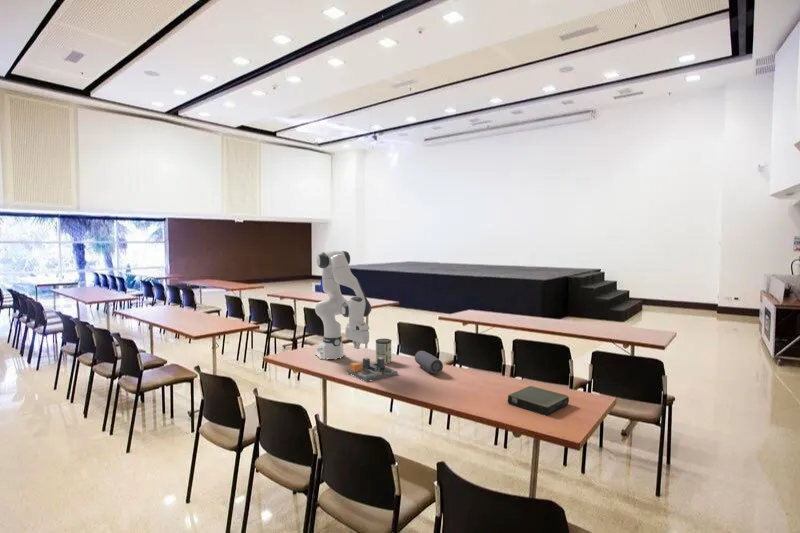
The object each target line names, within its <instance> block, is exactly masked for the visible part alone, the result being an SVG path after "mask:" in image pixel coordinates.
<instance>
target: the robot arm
mask: <svg viewBox="0 0 800 533" xmlns="http://www.w3.org/2000/svg"><path fill="white" fill-rule="evenodd" d="M316 263H317V266H318V267H319V268H320V269H322V270H321V279H322V280H321V281H322V291H323V292H324V293H325V294H327V296H328V298H329V299H324V300H321V301H318V302H316V304H315V306H314V307H315V308H314V312H315V314H316V315H317V317H319V318H320V319H321V321H322V323H323V333H324V334H323V336H322V342H321V343H320V344H318V346H317V350H316V351H317V352H318V353H317V354H318V355H317V356H319V357H320V358H329V359H334V358H340V357H343V355H344V354H345V355H346V353H345V352H344V344H343V343H342V339H343V337H342V326H341V325H342V324H341V323H340V322H339V321H338V320H337V319H336V316H339V315H342V316H343V317H344V318H349V320H348V323H347V324H346V327H345V331H344V332H345V333H344V337H345V338H346V339H348V340H351V341H352V344H353V349H356V350H359V349H360V348H361V347H360V346H361V344H362V345H366V344H368V343H369V342H370V331H369V330H370V326H369V325H368V324H367V323H366V322H365V317H368V316H369V315H370V314H371V313H372V306H371V303H370V302H369V300H368V298H367V296H366V294H365V291H364V288H363V287H362V285H361V282H360V280H359V279H358V278H357V277H356V276H354V274H353V273H352V271H351V268H350V263H351V255H350V253H349V252H348V251H346V250H345V251H344V250H332V251H325V252H324V251H322V252H319V253H318V254H317V256H316ZM341 286H344V287H347V288H350V289H351V290H353V291H354V294H355V296H352V297H351V298H350V299H349V300H347V299H346V298H345V297H344V295H343V294H342V291H341ZM345 355H344V356H345ZM317 356H316V357H317ZM343 358H344V357H343ZM340 359H341V358H340ZM334 360H335V359H334Z"/></svg>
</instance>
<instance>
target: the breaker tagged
mask: <svg viewBox="0 0 800 533" xmlns="http://www.w3.org/2000/svg"><path fill="white" fill-rule="evenodd" d="M370 364H371V359H370V358H369V357H363V358H362V366H363V367H365V368H367V369H368V368H370Z"/></svg>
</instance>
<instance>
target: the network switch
mask: <svg viewBox="0 0 800 533" xmlns="http://www.w3.org/2000/svg"><path fill="white" fill-rule="evenodd" d="M569 402H570V398H569V396H568V395H567V394H564V393H559V392H557V391H552V390H548V389H544V388H540V387H536V386H533V385H529V386H526V387H525V388H522V389H520V390H517V391H515V392H511V393H510V394H508V395H507V404H508V405H511V406H515V407H518V408H522V409H525V410H529V411H532V412H533V413H537V414H539V413H540V414H539V415H542V414H543V415H542V416H544V415H545V417H546V416H549V415H551V414H553V413H554V412H557V411H558V410H560V409H562V408H563V407H567V406H568V404H569Z"/></svg>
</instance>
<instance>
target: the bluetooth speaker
mask: <svg viewBox="0 0 800 533" xmlns="http://www.w3.org/2000/svg"><path fill="white" fill-rule="evenodd" d="M414 360H415V362H416V363H417V364H418V365H419V366H420V367H422V368H423V370H424V371H426V372H428V373H430V374H434V375H435V374H439V373H441V372H442V371H443V367H444V364H443V361H441V360H440V359H439V358H437V357H436V356H435V355H433V354H431V353H429V352H426V351H425V350H418V351H417V352H416V353H415V355H414Z"/></svg>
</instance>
